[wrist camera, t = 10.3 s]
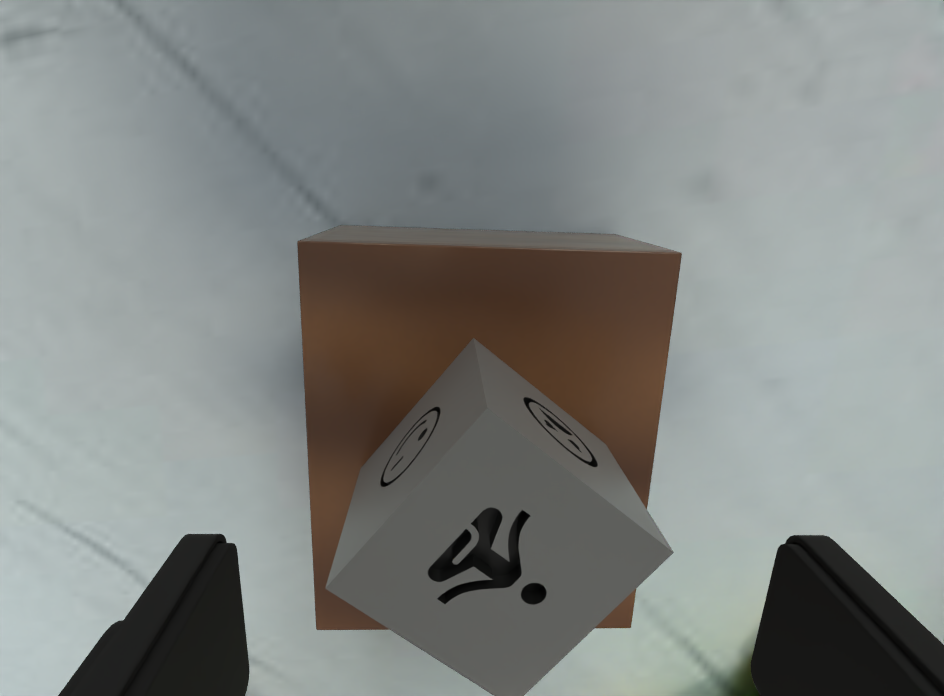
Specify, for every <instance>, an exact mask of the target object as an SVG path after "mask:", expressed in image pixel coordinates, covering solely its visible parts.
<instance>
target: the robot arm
mask: <svg viewBox="0 0 944 696" xmlns="http://www.w3.org/2000/svg"><path fill="white" fill-rule="evenodd" d="M751 674H752V678H753V681H754V684H755V686H756V688H757V690H758V692H759V693H760V695H761V696H944V645H943V644H942V643H941V642H940V641H939V640H938V639H937V638H936V637H935V636H934V635H933V634H932V633H931V632H929V631H928V630H927V629H926V628H925V627H924V626H923V625H922V624H921V623H920V622H919V621H918V620H917V619H916V618H915V617H914V616H913V615H912V614H911V613H910V612H908V611H907V610H906V609H905V608H904V607H903V606H902V605H901V604H900V603H899V602H898V601H897V600H896V599H895V598H894V597H893V596H892V595H891V594H890V593H888V592H887V591H886V590H885V589H884V588H883V587H882V586H881V585H880V584H879V583H878V582H877V581H876V580H875V579H874V578H873V577H872V576H871V575H870V574H868V573H867V572H866V571H865V570H864V569H863V568H862V567H861V566H860V565H859V564H858V563H857V562H856V561H855V560H854V559H853V558H852V557H851V556H850V555H848V554H847V553H846V552H845V551H844V550H843V549H842V548H841V547H840V546H839V545H838V544H837V543H836V542H835V541H834V540H832V539H831V538H830V537H828V536H824V535H794V536H790V537H789V538H788V539H787V541H786V543H785V544H782V545H780V547H779V548H778V550H777V554H776V558H775V562H774V567H773V571H772V575H771V579H770V584H769V588H768V592H767V596H766V601H765V605H764V609H763V614H762V618H761V622H760V626H759V631H758V635H757V639H756V643H755V648H754V652H753V656H752V660H751ZM248 680H249V661H248V651H247V642H246V632H245V623H244V613H243V603H242V594H241V584H240V575H239V565H238V555H237V548H236V546H235V544H233V543H226V539H225V537H224V535H222V534H187V535H185V536H184V537H183V538H182V539H181V540H180V542H179V543H178V544H177V546H176V547H175V549H174V550H173V551H172V553H171V554H170V556H169V557H168V558H167V560H166V561H165V563H164V564H163V566H162V567H161V568H160V570H159V571H158V573H157V574H156V575H155V577H154V578H153V580H152V581H151V582H150V584H149V585H148V587H147V588H146V589H145V591H144V592H143V594H142V595H141V596H140V598H139V599H138V601H137V602H136V603H135V605H134V606H133V608H132V609H131V610H130V612H129V613H128V615H127V616H126V618H125V619H124V620H123V621H118V622H116V623H114V624H113V625H111V626H110V627H109V629H108V630H107V631H106V632H105V633H104V634H103V635H102V637H101V638H100V640H99V641H98V642H97V644H96V645H95V646H94V648H93V649H92V650H91V652H90V653H89V655H88V656H87V657H86V659H85V660H84V661H83V663H82V664H81V665H80V667H79V668H78V670H77V671H76V672H75V674H74V675H73V676H72V678H71V679H70V680H69V682H68V683H67V685H66V686H65V687H64V689H63V690H62V691H61V693H60V694H59V695H58V696H245V693H246V690H247V686H248Z"/></svg>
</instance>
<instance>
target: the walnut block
mask: <svg viewBox="0 0 944 696" xmlns="http://www.w3.org/2000/svg"><path fill="white" fill-rule="evenodd" d="M297 244H298V265H299V285H300V306H301V326H302V346H303V367H304V387H305V408H306V428H307V449H308V469H309V490H310V510H311V530H312V551H313V571H314V592H315V612H316V629H317V630H388V628H387V627H385V626H384V625H382V624H380V623H379V622H377V621H376V620H374V619H373V618H371V617H369V616H368V615H366V614H365V613H363V612H361V611H360V610H358V609H357V608H355V607H354V606H352V605H350V604H349V603H347V602H346V601H344V600H343V599H341V598H339V597H338V596H336V595H335V594H333V593H332V592H330V591H328V590H327V589H325V588H326V584H327V581H328V577H329V574H330V571H331V567H332V564H333V560H334V557H335V554H336V550H337V547H338V543H339V540H340V537H341V533H342V530H343V526H344V523H345V520H346V516H347V513H348V509H349V506H350V503H351V499H352V496H353V492H354V489H355V486H356V482H357V479H358V475H359V472H360V469H361V467H362V466H363V465H364V464H365V463H366V462H367V460H368V459H369V458H370V457H371V456H372V455H373V453H374V452H375V451H376V450H377V449H378V448H379V447H380V445H381V444H382V443H383V442H384V441H385V440H386V438H387V437H388V436H389V435H390V434H391V433H392V432H393V430H394V429H395V428H396V427H397V426H398V425H399V423H400V422H401V421H402V420H403V419H404V418H405V416H406V415H407V414H408V413H409V412H410V411H411V410H412V408H413V407H414V406H415V405H416V404H417V403H418V401H419V400H420V399H421V398H422V397H423V396H424V395H425V393H426V392H427V391H428V390H429V389H430V388H431V386H432V385H433V384H434V383H435V382H436V381H437V379H438V378H439V377H440V376H441V375H442V374H443V373H444V371H445V370H446V369H447V368H448V367H449V366H450V364H451V363H452V362H453V361H454V360H455V359H456V357H457V356H458V355H459V354H460V353H461V352H462V351H463V349H464V348H465V347H466V346H467V345H468V344H469V342H470V341H471V340H472V339H473V338H474V339H476V340H477V341H478V342H479V343H481V344H482V345H483V346H484V347H486V348H487V349H488V350H489V351H491V352H492V353H493V354H494V355H496V356H497V357H498V358H499V359H501V360H502V361H503V362H504V363H505V364H507V365H508V366H509V367H510V368H512V369H513V370H514V371H515V372H517V373H518V374H519V375H520V376H522V377H523V378H524V379H525V380H527V381H528V382H529V383H530V384H532V385H533V386H534V387H535V388H537V389H538V390H539V391H540V392H541V393H543V394H544V395H545V396H546V397H548V398H549V399H550V400H551V401H553V402H554V403H555V404H556V405H558V406H559V407H560V408H561V409H563V410H564V411H565V412H566V413H568V414H569V415H570V416H571V417H573V418H574V419H575V420H576V421H578V422H579V423H580V424H581V425H582V426H584V427H585V428H586V429H587V430H589V431H590V432H591V433H592V434H594V435H595V436H596V437H597V438H599V439H600V440H601V441H602V442H604V443H605V444H606V445H607V447H608V449H609V450H610V452H611V453H612V455H613V457H614V458H615V460H616V461H617V463H618V465H619V466H620V468H621V469H622V471H623V473H624V474H625V476H626V477H627V479H628V480H629V482H630V484H631V485H632V487H633V488H634V490H635V492H636V493H637V495H638V496H639V498H640V500H641V501H642V503H643V504H644V506H645V508H646V509H647V505H648V497H649V490H650V483H651V475H652V468H653V461H654V453H655V446H656V439H657V431H658V424H659V417H660V409H661V402H662V395H663V387H664V380H665V373H666V366H667V358H668V351H669V344H670V336H671V329H672V322H673V314H674V307H675V300H676V292H677V285H678V278H679V270H680V263H681V256H682V254H681V253H680V252H677V251H673V250H670V249H666V248H663V247H659V246H655V245H652V244H648V243H645V242H641V241H638V240H634V239H631V238H627V237H623V236H620V235H616V234H595V233H565V232H534V231H503V230H473V229H442V228H412V227H381V226H351V225H340V226H337V227H334V228H332V229H329V230H326V231H324V232H321V233H318V234H316V235H313V236H310V237H308V238H305V239H302V240H299V241H298V242H297ZM635 593H636V589H635V590H634V591H633V592H632V593H631V594H630V595H629V596H627V597H626V598H625V599H624V600H623V601H622V602H621V603H620V604H619V605H618V606H617V607H616V608H615V609H614V610H613V611H612V612H611V613H610V614H609V615H608V616H607V617H605V618H604V619H603V620H602V621H601V622H600V623H599V624H598V625H597V626H596V627H595V628H631V622H632V615H633V607H634V600H635Z"/></svg>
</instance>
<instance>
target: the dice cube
mask: <svg viewBox="0 0 944 696" xmlns="http://www.w3.org/2000/svg"><path fill="white" fill-rule="evenodd" d="M673 553H674V552H673V551H672V549H671V547H670V546H669V544H668V543H667V541H666V539H665V538H664V536H663V535H662V533H661V531H660V530H659V528H658V527H657V525H656V523H655V522H654V520H653V519H652V517H651V516H650V514H649V512H648V511H647V509H646V508H645V506H644V504H643V503H642V501H641V500H640V498H639V496H638V495H637V493H636V492H635V490H634V488H633V487H632V485H631V484H630V482H629V480H628V479H627V477H626V476H625V474H624V473H623V471H622V469H621V468H620V466H619V465H618V463H617V461H616V460H615V458H614V457H613V455H612V453H611V452H610V450H609V449H608V447H607V445H606V444H605V443H604V442H602V441H601V440H600V439H599V438H597V437H596V436H595V435H594V434H592V433H591V432H590V431H589V430H587V429H586V428H585V427H584V426H582V425H581V424H580V423H579V422H578V421H576V420H575V419H574V418H573V417H571V416H570V415H569V414H568V413H566V412H565V411H564V410H563V409H561V408H560V407H559V406H558V405H556V404H555V403H554V402H553V401H551V400H550V399H549V398H548V397H546V396H545V395H544V394H543V393H541V392H540V391H539V390H538V389H537V388H535V387H534V386H533V385H532V384H530V383H529V382H528V381H527V380H525V379H524V378H523V377H522V376H520V375H519V374H518V373H517V372H515V371H514V370H513V369H512V368H510V367H509V366H508V365H507V364H505V363H504V362H503V361H502V360H501V359H499V358H498V357H497V356H496V355H494V354H493V353H492V352H491V351H489V350H488V349H487V348H486V347H484V346H483V345H482V344H481V343H479V342H478V341H477V340H476V339H474V338H473V339H472V340H471V341H470V342H469V344H468V345H467V346H466V347H465V348H464V349H463V351H462V352H461V353H460V354H459V355H458V356H457V357H456V359H455V360H454V361H453V362H452V363H451V364H450V366H449V367H448V368H447V369H446V370H445V371H444V373H443V374H442V375H441V376H440V377H439V378H438V379H437V381H436V382H435V383H434V384H433V385H432V386H431V388H430V389H429V390H428V391H427V392H426V393H425V395H424V396H423V397H422V398H421V399H420V400H419V401H418V403H417V404H416V405H415V406H414V407H413V408H412V410H411V411H410V412H409V413H408V414H407V415H406V416H405V418H404V419H403V420H402V421H401V422H400V423H399V425H398V426H397V427H396V428H395V429H394V430H393V432H392V433H391V434H390V435H389V436H388V437H387V438H386V440H385V441H384V442H383V443H382V444H381V445H380V447H379V448H378V449H377V450H376V451H375V452H374V453H373V455H372V456H371V457H370V458H369V459H368V460H367V462H366V463H365V464H364V465H363V466H362V467H361V469H360V472H359V475H358V479H357V482H356V486H355V489H354V492H353V496H352V499H351V503H350V506H349V509H348V513H347V516H346V520H345V523H344V526H343V530H342V533H341V537H340V540H339V543H338V547H337V550H336V554H335V557H334V560H333V564H332V567H331V571H330V574H329V577H328V581H327V584H326V588H325V589H327V590H328V591H330V592H332V593H333V594H335V595H336V596H338V597H339V598H341V599H343V600H344V601H346V602H347V603H349V604H350V605H352V606H354V607H355V608H357V609H358V610H360V611H361V612H363V613H365V614H366V615H368V616H369V617H371V618H373V619H374V620H376V621H377V622H379V623H380V624H382V625H384V626H385V627H387V628H388V629H390V630H391V631H393V632H395V633H396V634H398V635H399V636H401V637H402V638H404V639H406V640H407V641H409V642H410V643H412V644H414V645H415V646H417V647H418V648H420V649H421V650H423V651H425V652H426V653H428V654H429V655H431V656H432V657H434V658H436V659H437V660H439V661H440V662H442V663H444V664H445V665H447V666H448V667H450V668H451V669H453V670H455V671H456V672H458V673H459V674H461V675H462V676H464V677H466V678H467V679H469V680H470V681H472V682H473V683H475V684H477V685H478V686H480V687H481V688H483V689H485V690H486V691H488V692H489V693H491V694H492V695H494V696H524V695H525V694H526V693H527V692H528V691H529V690H530V689H531V688H532V687H533V686H534V685H535V684H536V683H537V682H538V681H540V680H541V679H542V678H543V677H544V676H545V675H546V674H547V673H548V672H549V671H550V670H551V669H552V668H553V667H554V666H555V665H556V664H557V663H558V662H559V661H560V660H562V659H563V658H564V657H565V656H566V655H567V654H568V653H569V652H570V651H571V650H572V649H573V648H574V647H575V646H576V645H577V644H578V643H579V642H580V641H581V640H582V639H583V638H585V637H586V636H587V635H588V634H589V633H590V632H591V631H592V630H593V629H594V628H595V627H596V626H597V625H598V624H599V623H600V622H601V621H602V620H603V619H604V618H605V617H607V616H608V615H609V614H610V613H611V612H612V611H613V610H614V609H615V608H616V607H617V606H618V605H619V604H620V603H621V602H622V601H623V600H624V599H625V598H626V597H627V596H629V595H630V594H631V593H632V592H633V591H634V590H635V589H636V588H637V587H638V586H639V585H640V584H641V583H642V582H643V581H644V580H645V579H646V578H647V577H648V576H649V575H651V574H652V573H653V572H654V571H655V570H656V569H657V568H658V567H659V566H660V565H661V564H662V563H663V562H664V561H665V560H666V559H667V558H668V557H669V556H670V555H671V554H673Z"/></svg>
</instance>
